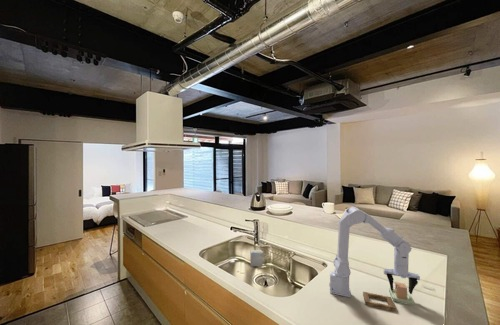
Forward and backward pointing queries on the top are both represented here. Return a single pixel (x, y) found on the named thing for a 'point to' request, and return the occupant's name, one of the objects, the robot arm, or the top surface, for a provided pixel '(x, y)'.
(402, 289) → the block
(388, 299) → the pocket board
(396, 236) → the robot arm
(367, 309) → the top surface
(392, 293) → the tray
